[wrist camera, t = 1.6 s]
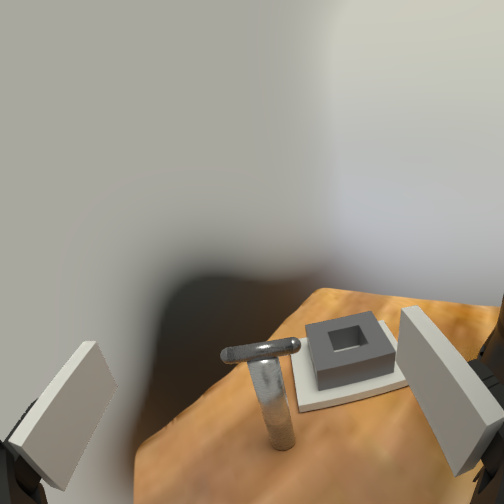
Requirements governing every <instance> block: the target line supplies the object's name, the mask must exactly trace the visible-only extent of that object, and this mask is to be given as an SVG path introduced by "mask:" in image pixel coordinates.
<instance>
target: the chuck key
mask: <svg viewBox="0 0 504 504" xmlns="http://www.w3.org/2000/svg"><path fill="white" fill-rule="evenodd" d="M300 349H301V342H300V340H299V339H298V338H295V337H290V338H284V339H278V340H273V341H267V342H261V343H254V344H248V345H241V346H234V347H227V348H225V349H223V350H222V352H221V359H222V361H223V362H225V363H227V364H233V363H241V362H247V364H248V368H249V371H250V375H251V378H252V381H253V385H254V388H255V391H256V395H257V398H258V401H259V405H260V408H261V411H262V414H263V418H264V421H265V424H266V427H267V430H268V434H269V437H270V440H271V443H272V446H273V447H274V448H275V449H277V450H287V449H289V448H291V447H292V446H293V445H294V444H295V435H294V430H293V425H292V420H291V416H290V411H289V406H288V401H287V396H286V391H285V387H284V382H283V377H282V372H281V367H280V362H279V358H278V357H280V356H285V355H291V354H296V353H297V352H299V351H300Z"/></svg>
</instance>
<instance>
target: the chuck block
mask: <svg viewBox="0 0 504 504" xmlns="http://www.w3.org/2000/svg"><path fill="white" fill-rule="evenodd" d="M305 328H306V336H307V337H306V338H301V339H299V340H300V342H301V349H300V351H299V352H297V353H296V354H291V359H292V366H293V372H294V379H295V385H296V392H297V399H298V405H299V411H300V412H305V411H310V410H316V409H321V408H326V407H330V406H335V405H339V404H344V403H348V402H352V401H356V400H360V399H364V398H368V397H371V396H375V395H378V394H382V393H385V392H389V391H392V390H395V389H398V388H402V387H405V386H408V383H407V381H406V379H405V377H404V375H403V374H402V372H401V370H400V368H399V367H398V365H397V363H396V361H395V360H396V353H397V345H398V343H397V341H396V339H395V338H394V336H393V335H392V333H391V332H390V330H389V328H388V327H387V325H386V324H385V322H384V321H383V320H381V321H377V319H376V318H375V316H374V315H373V313H372V311H367V312H363V313H359V314H355V315H350V316H346V317H341V318H337V319H332V320H327V321H323V322H318V323H313V324H308V325H305Z"/></svg>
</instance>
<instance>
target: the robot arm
mask: <svg viewBox="0 0 504 504" xmlns="http://www.w3.org/2000/svg"><path fill="white" fill-rule="evenodd" d="M395 361H396V363H397V365H398V367H399V368H400V370H401V372H402V374H403V375H404V377H405V379H406V381H407V383H408V385H409V386H410V388H411V390H412V392H413V394H414V396H415V397H416V399H417V401H418V403H419V405H420V407H421V409H422V411H423V413H424V415H425V417H426V418H427V420H428V422H429V424H430V426H431V428H432V430H433V432H434V434H435V436H436V438H437V440H438V442H439V444H440V447H441V449H442V451H443V453H444V455H445V457H446V459H447V461H448V463H449V466H450V468H451V470H452V472H453V474H454V477H457V476H459V475H461V474H463V473H465V472H467V471H469V470H471V469H473V468H474V467H475V466H476V464H477V463H478V462H479V460H480V459H481V460H482V462H483V464H484V466H483V467H482V468H481V470H480V471H479V472H478V474H477V475H476V476H475V478H474V480H473V482H476V480H477V479H478V478H479V479H478V482H477V485H476V488H475V491H474V494H473V497H472V499H471V502H470V504H504V295H503V300H502V305H501V309H500V314H499V318H498V322H497V324H496V326H495V328H494V329H493V331H492V332H491V334H490V336H489V337H488V339H487V340H486V342H485V343H484V345H483V346H482V348H481V349H480V351H479V353H478V356H477V360H476V359H474V360H471V361H469V362H466V361H465V360H464V358H463V357H462V356H461V355H460V353H459V352H458V351H457V350H456V349H455V347H454V346H453V345H452V344H451V343H450V342H449V340H448V339H447V338H446V337H445V336H444V335H443V333H442V332H441V331H440V330H439V329H438V328H437V326H436V325H435V324H434V323H433V322H432V321H431V320H430V319H429V317H428V316H427V315H426V314H425V313H424V312H423V311H422V310H421V309H420V308H419V306H418V305H415V306H411V307H406V308H401V317H400V328H399V337H398V345H397V353H396V360H395ZM117 387H118V386H117V384H116V382H115V380H114V378H113V376H112V374H111V372H110V370H109V368H108V366H107V363H106V361H105V359H104V357H103V355H102V353H101V350H100V348H99V346H98V343H97V341H84V342H83V343H82V344H81V346H80V347H79V348H78V349H77V350H76V352H75V353H74V354H73V355H72V356H71V358H70V359H69V360H68V361H67V363H66V364H65V365H64V366H63V368H62V369H61V370H60V371H59V373H58V374H57V375H56V376H55V378H54V379H53V380H52V382H51V383H50V384H49V386H48V387H47V388H46V389H45V391H44V392H43V393H42V395H41V396H40V397H39V398H38V399H36V400H35V401H34V402H33V403H31V405H30V406H29V407H28V409H27V410H26V413H24V414H23V415H22V417H21V420H19V421H18V422H17V424H16V425H15V426H14V428H13V430H12V431H11V432H10V434H9V435H8V437H7V438H6V439H5V441H4V442H2V441H1V440H0V504H48V503H47V499H46V495H45V491H44V488H43V486H42V484H41V483H40V480H41V478H43V480H44V481H45V482H47V483H48V484H49V485H50V486H51V487H53V488H56V489H59V490H61V491H65V489H66V487H67V485H68V483H69V481H70V479H71V476H72V475H73V472H74V470H75V468H76V466H77V464H78V462H79V460H80V458H81V456H82V454H83V452H84V450H85V448H86V446H87V444H88V442H89V440H90V438H91V436H92V434H93V432H94V431H95V429H96V427H97V425H98V423H99V421H100V419H101V417H102V415H103V413H104V411H105V410H106V407H107V406H108V404H109V402H110V400H111V398H112V397H113V394H114V393H115V391H116V389H117Z"/></svg>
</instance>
